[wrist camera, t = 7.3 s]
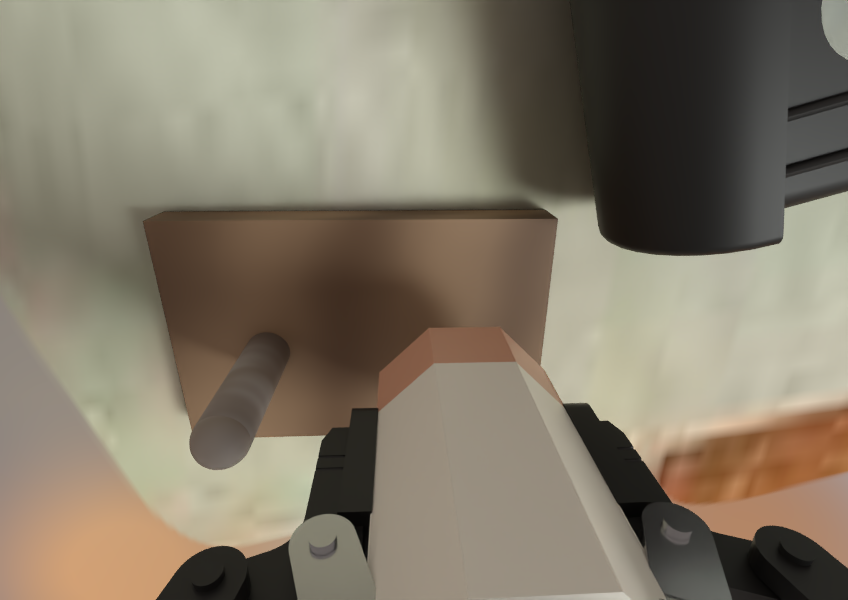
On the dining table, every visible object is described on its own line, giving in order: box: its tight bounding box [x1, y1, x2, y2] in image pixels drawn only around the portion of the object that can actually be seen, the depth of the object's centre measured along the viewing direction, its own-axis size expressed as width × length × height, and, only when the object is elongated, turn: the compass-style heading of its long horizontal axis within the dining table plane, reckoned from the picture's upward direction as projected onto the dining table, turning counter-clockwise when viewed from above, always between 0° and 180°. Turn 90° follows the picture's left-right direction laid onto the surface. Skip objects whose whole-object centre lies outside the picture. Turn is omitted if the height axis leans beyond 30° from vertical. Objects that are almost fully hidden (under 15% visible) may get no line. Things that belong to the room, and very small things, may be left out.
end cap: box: [570, 0, 848, 256], centre depth 12 cm, size 10×7×7 cm
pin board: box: [143, 210, 558, 470], centre depth 15 cm, size 14×9×7 cm, turn 90°
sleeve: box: [367, 327, 666, 600], centre depth 11 cm, size 5×5×8 cm
